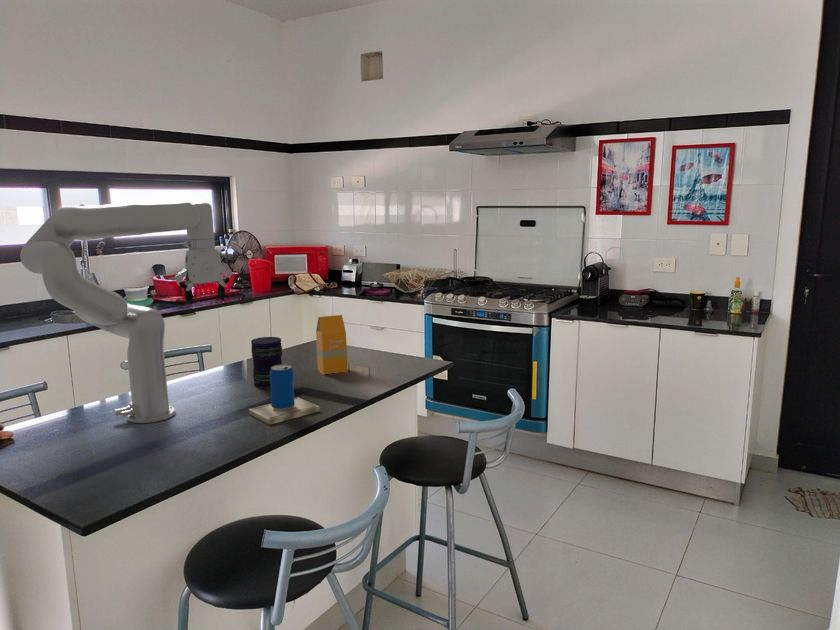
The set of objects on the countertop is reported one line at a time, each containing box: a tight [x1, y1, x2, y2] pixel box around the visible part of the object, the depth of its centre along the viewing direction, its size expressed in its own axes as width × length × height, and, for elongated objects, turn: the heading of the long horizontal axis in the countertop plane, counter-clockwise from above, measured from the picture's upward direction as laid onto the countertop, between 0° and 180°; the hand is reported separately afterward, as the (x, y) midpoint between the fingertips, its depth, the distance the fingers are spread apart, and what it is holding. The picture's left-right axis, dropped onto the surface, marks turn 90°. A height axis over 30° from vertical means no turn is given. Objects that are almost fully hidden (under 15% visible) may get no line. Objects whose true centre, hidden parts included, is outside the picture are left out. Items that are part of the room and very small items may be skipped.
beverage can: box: [270, 364, 295, 410], centre depth 177 cm, size 6×6×12 cm
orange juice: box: [315, 314, 348, 376], centre depth 220 cm, size 8×9×20 cm
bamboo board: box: [248, 396, 320, 426], centre depth 179 cm, size 16×12×2 cm
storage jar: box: [250, 336, 283, 388], centre depth 207 cm, size 10×10×15 cm
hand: (205, 301), depth 188 cm, fingers open, 9 cm apart
